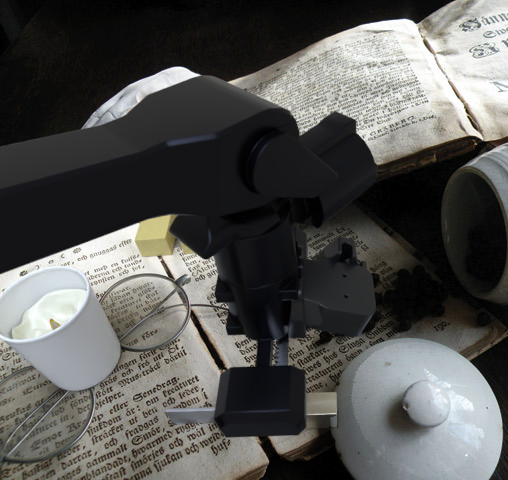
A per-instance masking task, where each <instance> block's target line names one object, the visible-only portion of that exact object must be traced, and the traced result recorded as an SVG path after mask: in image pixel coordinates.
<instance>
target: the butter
mask: <svg viewBox="0 0 508 480" xmlns="http://www.w3.org/2000/svg"><path fill="white" fill-rule="evenodd" d="M176 216H177V215H167V216H162V217H157V218H152V219H148V220H145V221H143V222H140V223H138V228H137V231H136V234H135V237H134V243H135V245H136V247H137V250H138V251H139V253H140V255H141V257H142V258H146V257H158V256H159V257H160V256H171V255H173V252H174V247H175V243H176V242H175V241H176V240H177V238H175V237H174V236H173V235H171V234H170V232H169V228H170V226H171V224H172V223H173V221H174V219H175V217H176Z"/></svg>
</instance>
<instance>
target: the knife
mask: <svg viewBox="0 0 508 480" xmlns="http://www.w3.org/2000/svg"><path fill="white" fill-rule="evenodd" d="M215 407H216V406H203V407H201V406H200V407H175V408H174V407H172V408H171V407H170V408H165V411H164V412H165V414H166V416H167V417H168V419H169V420H170V422H171V423H172V424H173V425H179V424H181V425H183V424H212V423H214V424H216V422H215V420H214V414H215ZM337 411H338V394H337V391H329V392H328V391H327V392H325V391H324V392H307V410H306V428H305V429H304V430H312V429H313V430H314V429H315V430H316V429H330V428H329V421H330V418H331V417H334V416H336V415H337Z"/></svg>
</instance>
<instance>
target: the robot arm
mask: <svg viewBox="0 0 508 480" xmlns="http://www.w3.org/2000/svg"><path fill="white" fill-rule="evenodd" d="M378 174H379V167H378V164H377V163H376V161H375V157H374V155H373V152H372V151H371V149H370V147H369V145H368V144H367V142H366V141H365V140H364V139H363V138H362V136H360V134H358V133H357V120H356V119H355V118H352V117H350V116H348V115H346V114H344V113H341V112H339V111H337V110H334V111H332V112H331V113H329V114H327V115H326V116H325V117H323V118H322V119H321V120H320V121H319V122H318V123H316V124H315V125H314V126H313V127H311V128H310V129H308V130H306V131H304V132H303V133H302V134H301V132H300V128H299V124H298V122H297V119H296V117H294V115H293V114H292V111H290V110H289V109H288V108H285V107H283V106H281V105H278V104H277V103H274V102H273V101H269V100H267V99H265V98H263V97H260V96H259V95H256V94H254V93H252V92H250V91H248V90H246V89H243V88H241V87H239V86H237V85H234V84H232V83H230V82H228V81H225V80H224V79H221V78H218V77H216V76H214V75H197V76H193V77H190V78H188V79H185V80H183V81H180V82H178V83H175V84H171V85H170V86H167V87H165V88H162V89H159V90H156V91H153V92H151V93H149V94H147V95H145V96H144V97H143V98H142V99H141V100H140V101H139V102H137V104H136V105H135V106H133V107H132V108H131V109H130V110H129V111H127V113H126V114H124V115H122V116H120V117H117V118H115V119H113V120H110V121H108V122H105V123H103V124H99V125H95V126H90V127H85V128H81V129H76V130H72V131H66V132H62V133H57V134H52V135H47V136H43V137H39V138H34V139H29V140H24V141H20V142H19V141H18V142H14V143H11V144H6V145H1V146H0V275H3V274H6V273H8V272H10V271H14V270H16V269H19V268H22V267H24V266H27V265H30V264H32V263H35V262H38V261H40V260H43V259H45V258H48V257H52V256H54V255H57V254H59V253H63V252H65V251H67V250H70V249H73V248H75V247H79V246H80V245H81V246H82V245H83V244H86V243H89V242H92V241H95V240H98V239H100V238H102V237H105V236H108V235H110V234H113V233H116V232H118V231H121V230H123V229H126V228H129V227H133V226H134V225H137V224H140V222H143V221H145V220H148V219H152V218H157V217H162V216H167V215H177V216H176V217H175V219H174V221H173V223H172V224H171V226H170V228H169V232H170V234H171V235H173V236H174V237H175V238H176V240H177V241H179V243H180V242H182V243H183V244H184V245H186V246H187V247H188V248H189V249H191V250H192V251H193V252H195V253H194V254H196V255H197V256H198V257H200V258H201V259H202V260H204V261H205V260H206V261H207V260H210V259H211V258H213V261H214V265H215V268H216V271H217V277H216V283H215V289H214V294H213V295H214V298H215V301H216V303H217V304H227V307H228V308H227V316H226V322H225V332H226V335H227V336H245V338H247V339H249V340H252V341H256V342H257V347H256V355H255V356H256V357H255V365H254V366H252V365H251V366H230V367H229V368H226V370H224V371H223V372H221V373H220V374H219V380H218V388H217V395H216V401H215V406H214V407H215V414H214V420H215V422H216V423H215V425H216V426H217V428H218V430H219V432H220V433H221V434H222V435H223V436H224V437H225V438H257V437H287V436H299V435H301V434H302V432H303V431H305V430H306V429H305V428H306V410H307V393H308V392H307V391H308V389H307V375H306V371H305V369H301V368H299V367H297V366H296V365H295V366H294V365H292V364H289V351H290V350H289V347H290V339H292V340H293V339H306V338H307V328H310V329H312V330H315V331H320V332H326V333H332V334H339V335H344V336H345V337H347V338H357V337H359V336H360V335H361V334H362V332H363V331H364V329H365V328H366V326H367V325H368V323H369V321H370V320H371V318H372V317H373V316H374V315H375V312H376V310H377V303H376V296H375V295H376V293H375V285H374V278H373V274H372V273H371V271H370V270H369V269H368V265H367V261H366V260H360V261H359V260H358V253H357V246H356V241H355V239H353V238H349V237H343V236H338V237H336V238H335V239H333V240H332V241H331V242H329V243H328V244H327V245H325V246H324V247H323V248H322V251H319V252H318V254H314V255H312V257H311V259H310V258H309V257H308V256H309V253H308V252H309V251H308V249H309V247H308V246H309V245H308V236H307V234H308V233H307V232H305V230H303V229H301V228H299V227H298V226H294V223H297V224H302V223H303V224H304V225H307V226H309V227H314V228H315V229H320V228H321V227H322V226H323V225H325V224H326V223H327V222H329V221H330V220H331V219H332V218H334V217H335V216H336V215H337V214H339V213H340V212H341V211H342V210H344V209H345V208H346V207H347V206H348V205H349V204H351V203H352V202H354V201H355V200H356V199H357V198H359V197H360V196H361V195H363V194H364V192H366V191H367V190H368V189H370V188H371V187H373V186H374V184H375V182H376V181H377V178H378ZM274 341H275V345H274ZM274 353H275V354H274ZM273 357H274V359H273ZM273 361H274V364H273Z"/></svg>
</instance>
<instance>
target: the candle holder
mask: <svg viewBox="0 0 508 480" xmlns="http://www.w3.org/2000/svg"><path fill="white" fill-rule="evenodd" d="M0 340H2V341H3V342H4V343H5V344H7V345H8V346H9V347H10V348H11V349H12V350H14V351H15V352H16V353H17V354H18V355H19V356H20V357H22V358H23V359H24V360H25V361H26V362H27V363H29V364H30V365H31V366H32V367H33V368H34V369H35V370H37V371H38V372H39V373H40V374H41V375H42V376H44V377H45V378H46V379H47V380H48V381H50V382H51V383H52V384H54V385H55V386H56V387H58V389H59V388H60V389H61V390H64V391H68V392H78V391H85V390H87V389H88V390H89V388H92V387H94V386H96V385H98V384H100V383H102V382H103V381H104V380H105V379H106V378H107V377H109V376H110V375H111V374H112V373H113V371H114V370H115V368H116V367H117V365H118V363H119V361H120V358H121V352H122V347H121V343H120V340H119V338H118V336H117V334H116V331H115V330H114V328H113V325H112V323H111V322H110V319H109V318H108V316H107V314H106V313H105V310H104V308H103V307H102V305H101V302H100V301H99V299H98V297H97V295H96V293H95V291H94V289H93V287H92V285H91V283H90V280H89V278H88V276H87V275H86V274H85V273H84V272H83V271H82V270H80V269H78V268H76V267H74V266H70V265H51V266H45V267H42V268H39V269H36V270H33V271H30V272H29V273H27V274H24V275H23V276H21V277H20V278H18V279H16V280H14V281H13V282H12V283H11V284H10V285H8V286H7V287H6V288H5V289H4V290H3V291H2V292H1V293H0Z"/></svg>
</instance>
